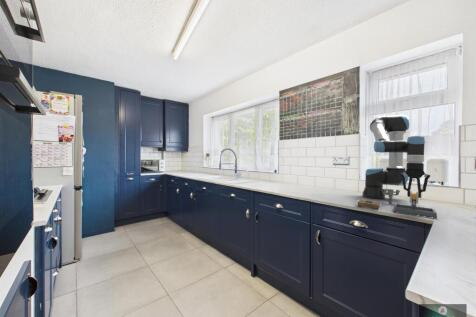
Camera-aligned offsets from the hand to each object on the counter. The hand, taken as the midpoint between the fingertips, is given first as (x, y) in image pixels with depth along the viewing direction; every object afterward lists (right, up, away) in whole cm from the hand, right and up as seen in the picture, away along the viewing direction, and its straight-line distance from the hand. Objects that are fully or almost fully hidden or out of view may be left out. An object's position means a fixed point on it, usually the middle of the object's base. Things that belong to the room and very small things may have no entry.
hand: (413, 202), depth 116 cm
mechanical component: (+3, -6, +22) cm, 23 cm away
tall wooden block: (0, -4, 0) cm, 4 cm away
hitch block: (-17, -5, +14) cm, 23 cm away
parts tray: (0, -6, 0) cm, 6 cm away
